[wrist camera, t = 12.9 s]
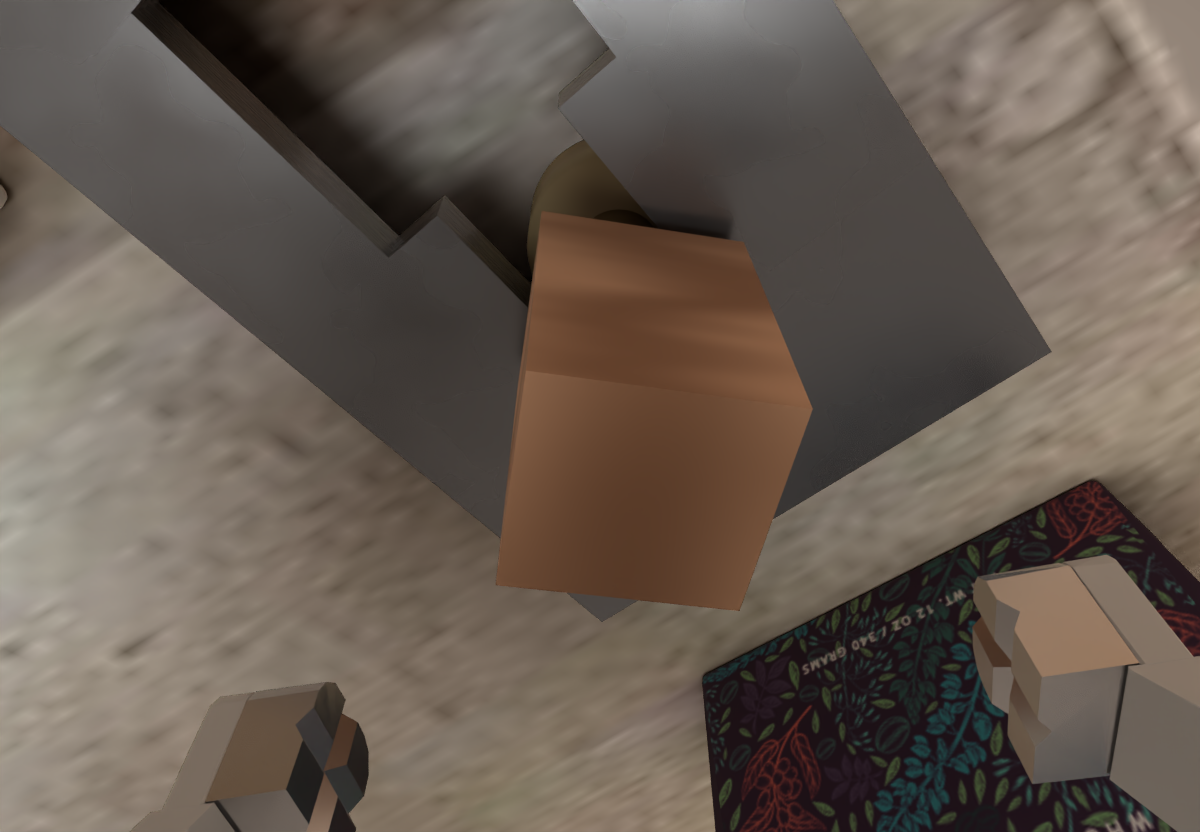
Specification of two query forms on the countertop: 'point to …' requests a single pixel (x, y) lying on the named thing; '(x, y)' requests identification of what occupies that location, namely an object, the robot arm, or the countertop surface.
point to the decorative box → (921, 698)
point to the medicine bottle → (2, 196)
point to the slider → (643, 404)
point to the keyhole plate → (487, 279)
